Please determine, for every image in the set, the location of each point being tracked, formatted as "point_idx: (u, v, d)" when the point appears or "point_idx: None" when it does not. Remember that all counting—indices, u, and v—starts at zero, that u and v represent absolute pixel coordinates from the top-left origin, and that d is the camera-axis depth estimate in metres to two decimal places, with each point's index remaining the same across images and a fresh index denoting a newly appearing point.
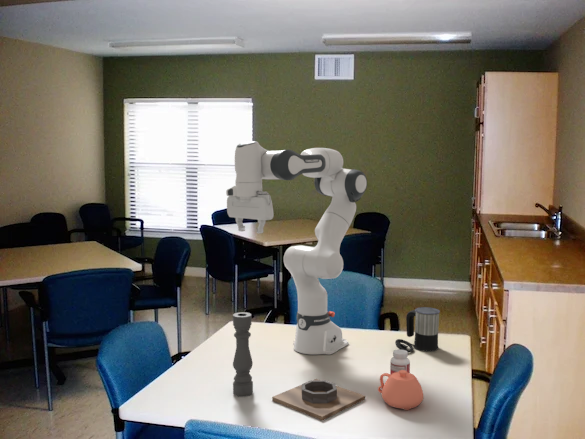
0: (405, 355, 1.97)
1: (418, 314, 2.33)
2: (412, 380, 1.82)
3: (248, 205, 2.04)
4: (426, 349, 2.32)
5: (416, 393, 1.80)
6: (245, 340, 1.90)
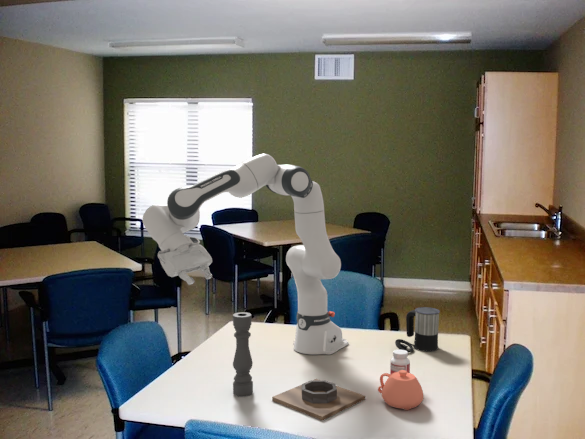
0: (405, 355, 1.97)
1: (418, 314, 2.33)
2: (412, 380, 1.82)
3: None
4: (426, 349, 2.32)
5: (416, 393, 1.80)
6: (245, 340, 1.90)
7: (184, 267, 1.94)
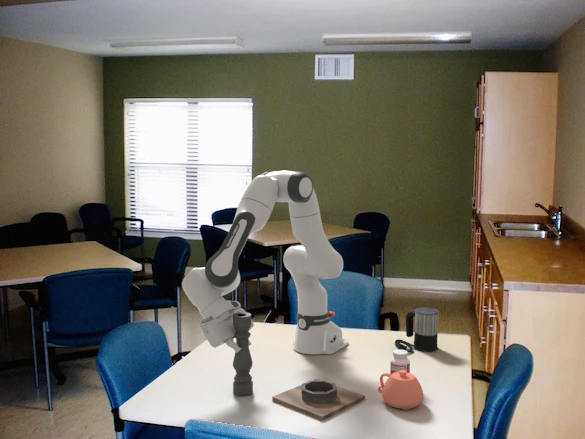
0: (405, 355, 1.97)
1: (417, 314, 2.32)
2: (412, 380, 1.82)
3: None
4: (425, 349, 2.32)
5: (416, 393, 1.80)
6: (245, 341, 1.90)
7: (227, 336, 1.88)
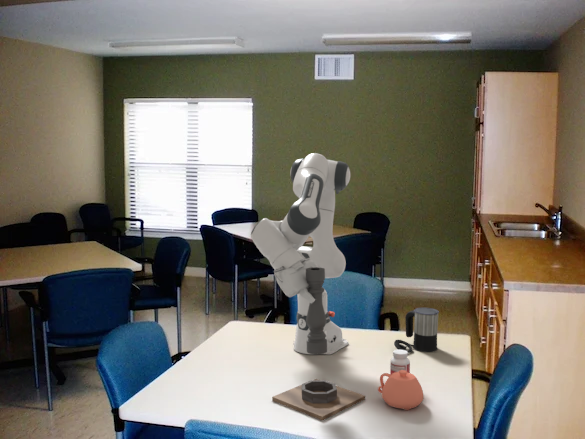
0: (405, 355, 1.97)
1: (417, 314, 2.32)
2: (412, 380, 1.82)
3: None
4: (425, 350, 2.31)
5: (416, 393, 1.80)
6: (319, 296, 1.83)
7: (302, 286, 1.80)
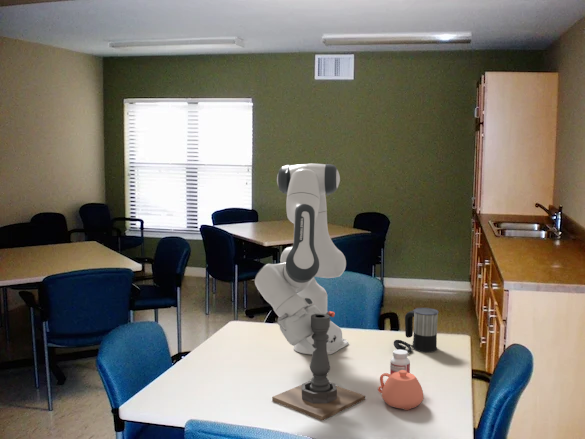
0: (405, 355, 1.97)
1: (416, 315, 2.32)
2: (412, 380, 1.82)
3: None
4: (424, 350, 2.31)
5: (416, 393, 1.80)
6: (323, 343, 1.84)
7: (305, 334, 1.82)
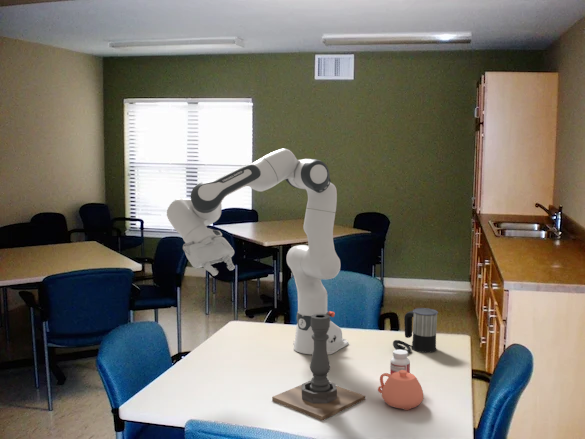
0: (405, 355, 1.97)
1: (416, 315, 2.31)
2: (412, 380, 1.82)
3: None
4: (424, 350, 2.31)
5: (416, 393, 1.80)
6: (323, 343, 1.84)
7: (208, 259, 2.01)
